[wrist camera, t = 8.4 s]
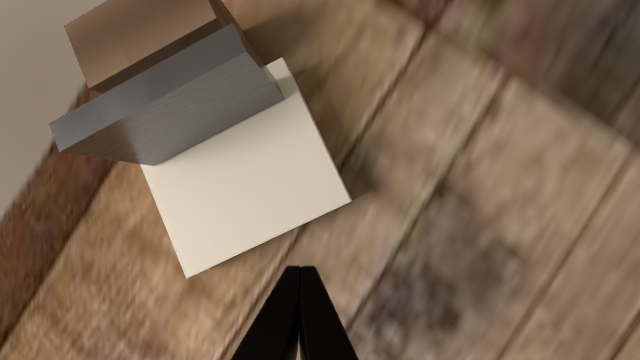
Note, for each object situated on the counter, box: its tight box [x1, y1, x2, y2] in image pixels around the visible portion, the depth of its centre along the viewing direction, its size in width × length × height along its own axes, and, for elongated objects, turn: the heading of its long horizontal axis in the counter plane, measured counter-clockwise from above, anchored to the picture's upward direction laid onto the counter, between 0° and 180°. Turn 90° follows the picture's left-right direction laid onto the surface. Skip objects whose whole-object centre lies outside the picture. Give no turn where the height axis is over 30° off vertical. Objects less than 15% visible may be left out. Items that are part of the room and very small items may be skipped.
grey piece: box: [49, 23, 285, 166], centre depth 19 cm, size 8×10×7 cm
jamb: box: [64, 0, 248, 94], centre depth 22 cm, size 4×8×8 cm, turn 115°
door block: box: [140, 57, 352, 278], centre depth 23 cm, size 10×12×3 cm
